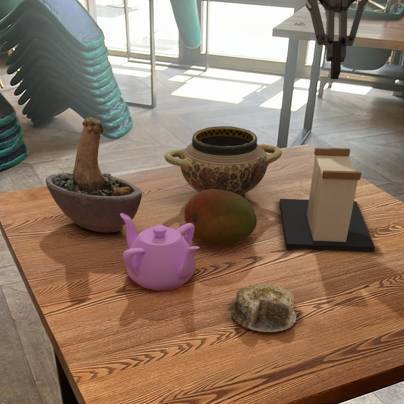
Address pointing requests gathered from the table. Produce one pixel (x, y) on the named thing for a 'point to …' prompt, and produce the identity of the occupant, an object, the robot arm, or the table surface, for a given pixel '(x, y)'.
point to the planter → (93, 188)
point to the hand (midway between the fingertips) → (335, 75)
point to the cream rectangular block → (326, 159)
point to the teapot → (159, 255)
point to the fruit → (220, 217)
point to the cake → (264, 308)
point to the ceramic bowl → (224, 159)
